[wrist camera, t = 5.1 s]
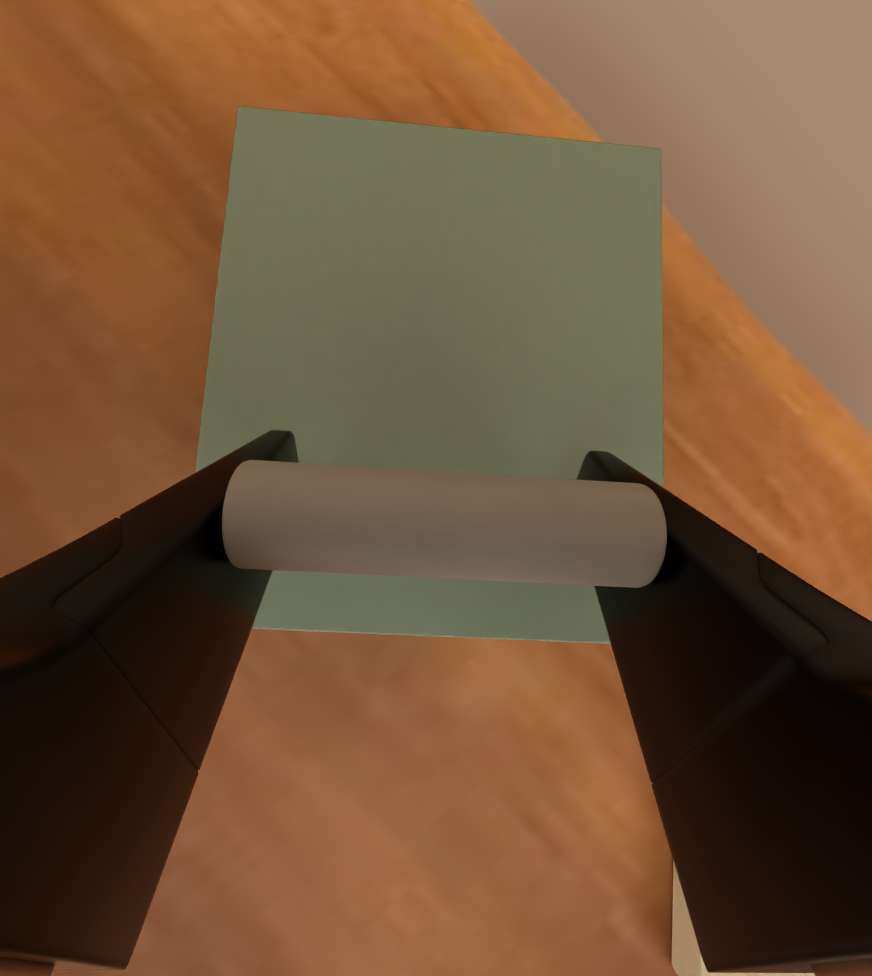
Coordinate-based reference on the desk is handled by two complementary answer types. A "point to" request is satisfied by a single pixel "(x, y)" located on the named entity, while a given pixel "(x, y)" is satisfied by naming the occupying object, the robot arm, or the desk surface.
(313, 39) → the desk surface
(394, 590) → the cover
